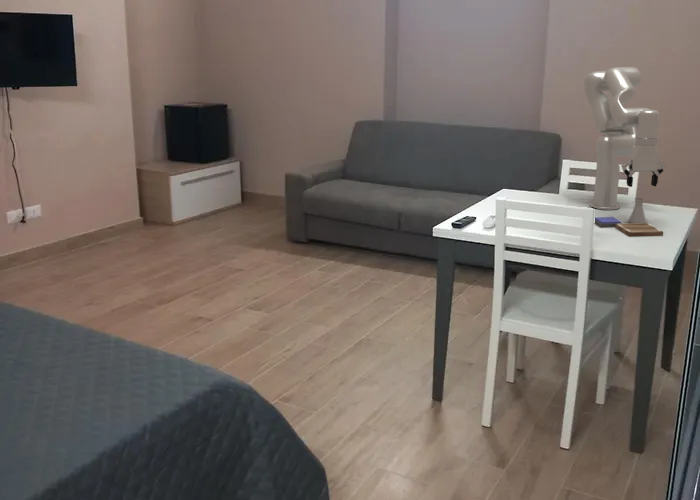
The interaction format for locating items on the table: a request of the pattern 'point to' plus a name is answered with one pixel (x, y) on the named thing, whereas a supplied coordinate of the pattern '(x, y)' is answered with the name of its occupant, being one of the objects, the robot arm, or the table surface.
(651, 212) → the table surface
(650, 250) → the table surface
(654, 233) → the marked board
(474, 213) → the table surface
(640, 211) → the flask
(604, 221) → the ink pad
